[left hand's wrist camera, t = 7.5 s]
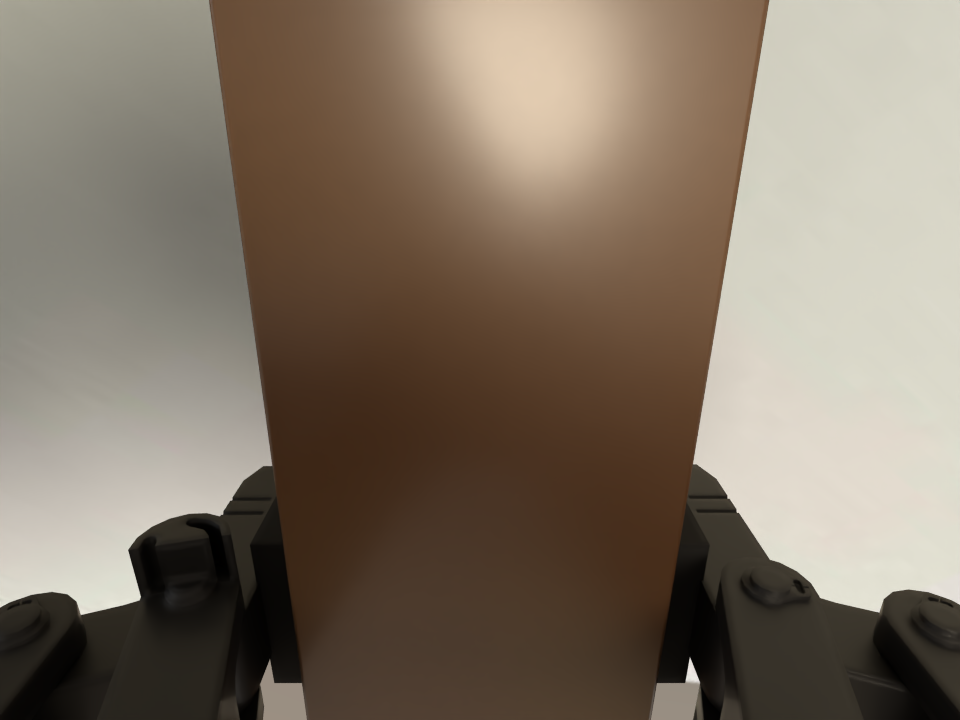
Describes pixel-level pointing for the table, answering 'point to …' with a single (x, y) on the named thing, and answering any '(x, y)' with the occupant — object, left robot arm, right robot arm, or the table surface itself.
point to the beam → (484, 331)
